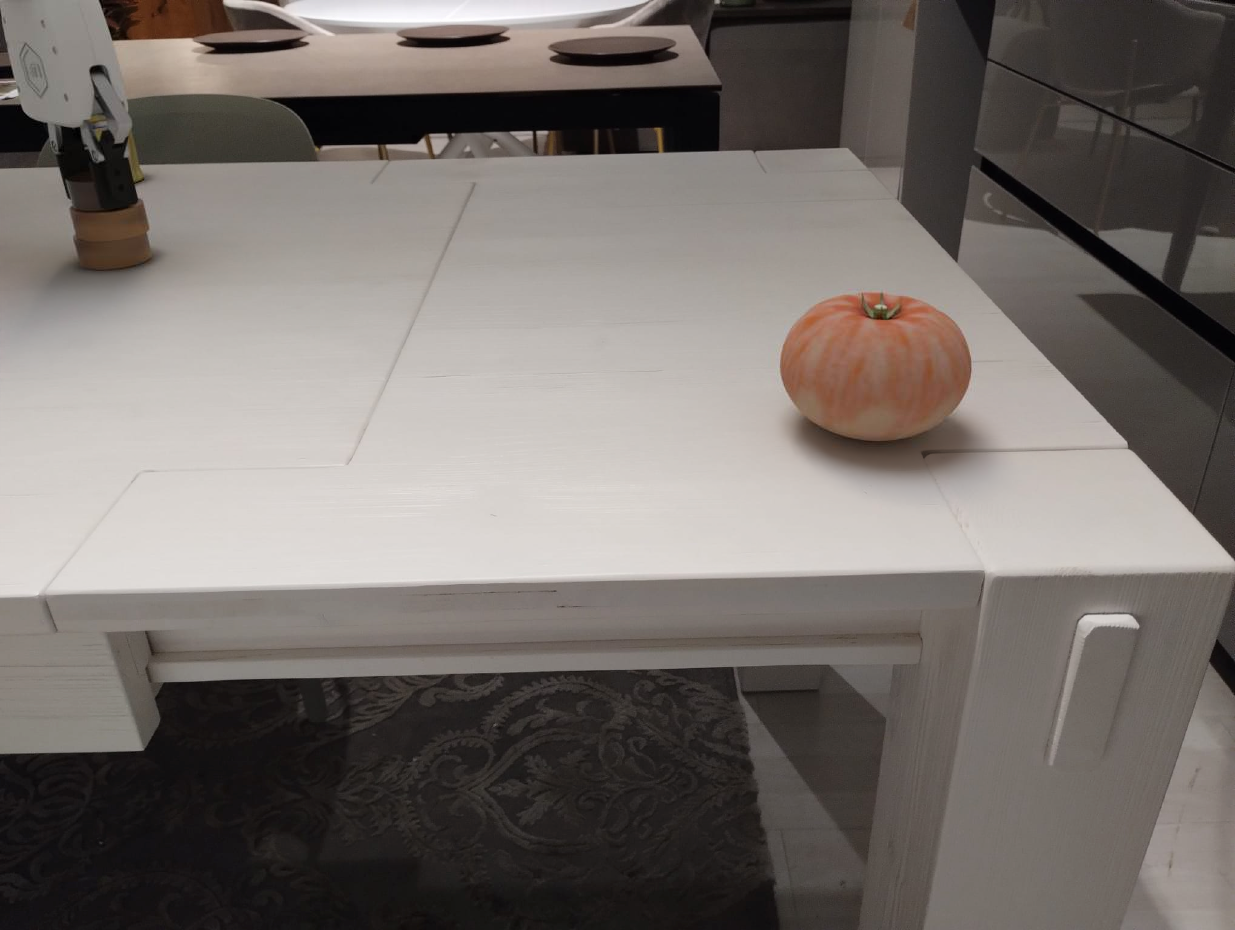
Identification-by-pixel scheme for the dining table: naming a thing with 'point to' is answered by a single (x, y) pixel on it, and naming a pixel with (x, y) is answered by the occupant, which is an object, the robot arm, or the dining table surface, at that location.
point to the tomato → (875, 366)
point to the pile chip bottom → (113, 253)
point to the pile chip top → (110, 223)
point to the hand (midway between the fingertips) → (102, 199)
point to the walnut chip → (83, 192)
